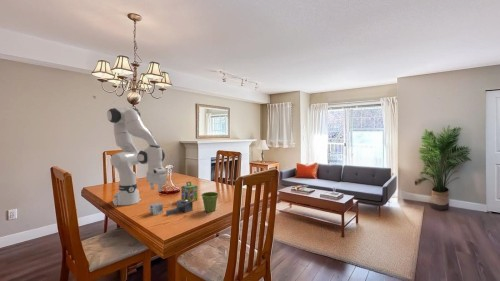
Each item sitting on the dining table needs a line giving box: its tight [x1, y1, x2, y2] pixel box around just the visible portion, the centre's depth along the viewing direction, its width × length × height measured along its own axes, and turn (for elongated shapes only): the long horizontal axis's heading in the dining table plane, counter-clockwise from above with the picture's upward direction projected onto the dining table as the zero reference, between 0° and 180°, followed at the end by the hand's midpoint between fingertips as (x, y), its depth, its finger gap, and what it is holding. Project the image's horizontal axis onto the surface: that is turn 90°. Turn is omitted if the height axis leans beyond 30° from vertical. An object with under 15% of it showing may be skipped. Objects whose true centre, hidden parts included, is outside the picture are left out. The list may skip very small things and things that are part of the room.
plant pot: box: [200, 191, 220, 213], centre depth 160 cm, size 12×12×11 cm
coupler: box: [165, 199, 194, 216], centre depth 158 cm, size 10×16×7 cm, turn 139°
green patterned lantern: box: [180, 180, 198, 202], centre depth 183 cm, size 9×9×15 cm
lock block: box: [149, 202, 164, 216], centre depth 155 cm, size 6×6×6 cm
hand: (156, 190), depth 154 cm, fingers open, 8 cm apart
